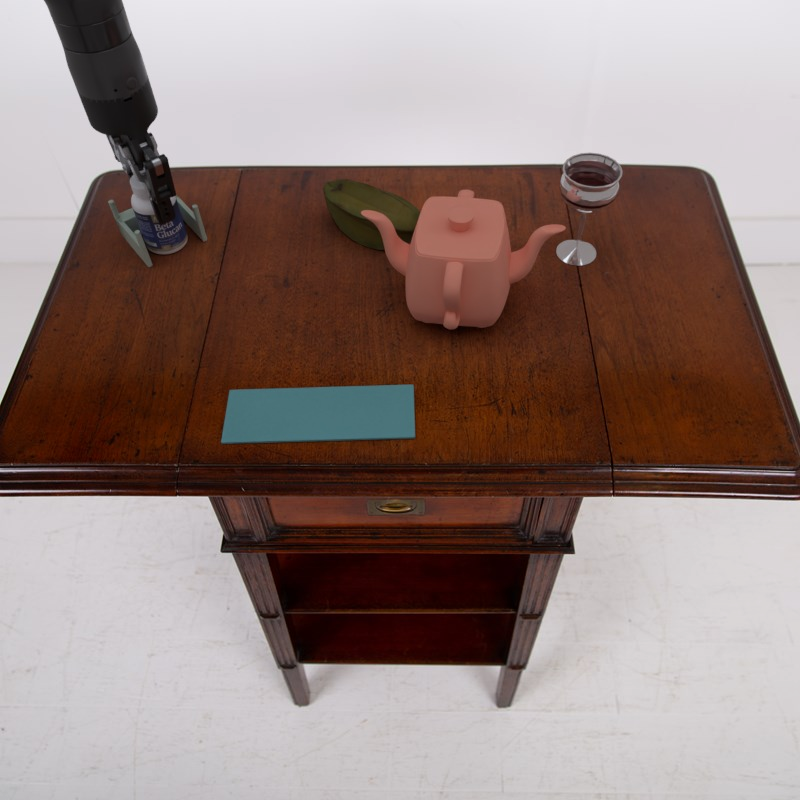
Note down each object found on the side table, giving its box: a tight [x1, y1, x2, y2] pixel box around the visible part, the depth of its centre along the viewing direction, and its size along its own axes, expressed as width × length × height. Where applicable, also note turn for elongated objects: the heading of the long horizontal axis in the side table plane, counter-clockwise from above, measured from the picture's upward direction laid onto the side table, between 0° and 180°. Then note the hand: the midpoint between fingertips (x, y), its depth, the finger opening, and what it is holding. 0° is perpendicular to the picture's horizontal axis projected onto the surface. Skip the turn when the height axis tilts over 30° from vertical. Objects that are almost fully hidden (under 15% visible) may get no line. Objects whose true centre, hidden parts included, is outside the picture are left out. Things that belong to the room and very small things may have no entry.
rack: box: [107, 194, 208, 268], centre depth 97 cm, size 8×8×5 cm
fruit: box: [322, 178, 421, 251], centre depth 96 cm, size 11×12×7 cm
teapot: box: [361, 189, 566, 331], centre depth 85 cm, size 15×17×13 cm
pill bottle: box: [129, 170, 189, 255], centre depth 94 cm, size 5×5×10 cm
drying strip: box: [220, 383, 416, 445], centre depth 80 cm, size 20×7×1 cm, turn 91°
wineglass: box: [555, 152, 623, 266], centre depth 90 cm, size 7×7×12 cm
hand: (156, 207), depth 94 cm, fingers closed on pill bottle, 5 cm apart
